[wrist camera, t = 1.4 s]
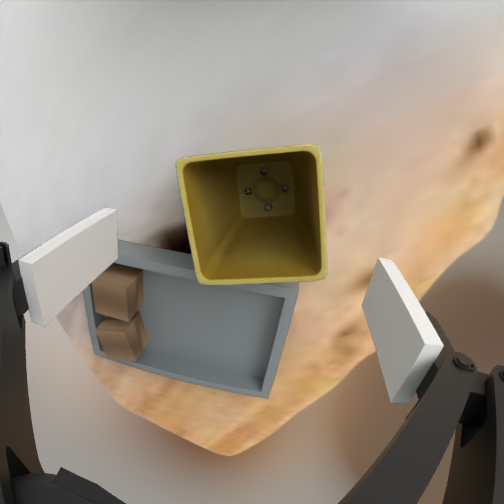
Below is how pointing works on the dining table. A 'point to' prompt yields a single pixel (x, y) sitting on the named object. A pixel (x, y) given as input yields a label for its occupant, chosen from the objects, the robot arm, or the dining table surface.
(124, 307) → the walnut block
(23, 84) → the dining table surface
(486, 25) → the dining table surface
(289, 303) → the tray
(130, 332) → the walnut block
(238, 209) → the flower pot
